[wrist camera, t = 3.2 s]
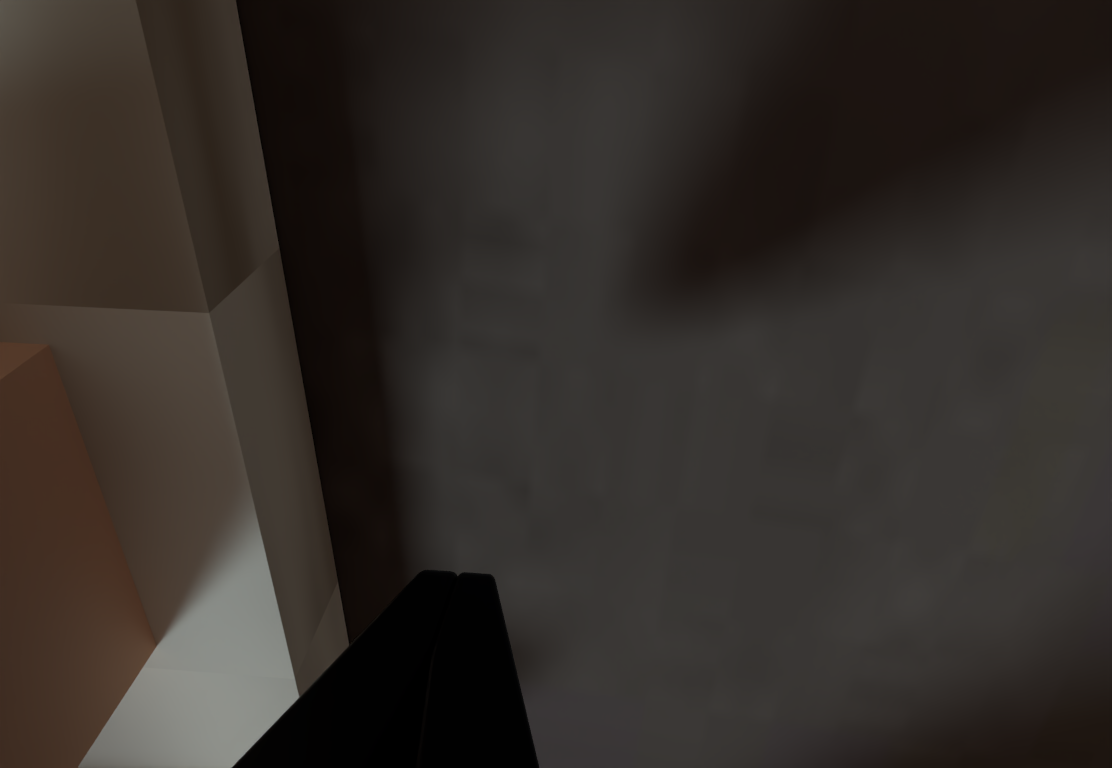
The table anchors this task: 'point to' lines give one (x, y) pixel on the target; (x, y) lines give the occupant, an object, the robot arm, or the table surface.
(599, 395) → the table surface
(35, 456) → the block
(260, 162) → the shallow wooden tray
